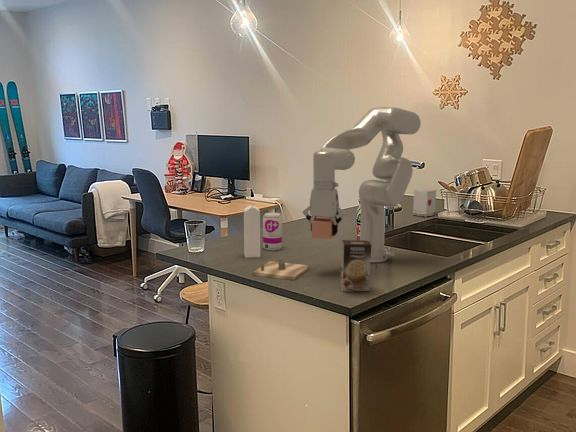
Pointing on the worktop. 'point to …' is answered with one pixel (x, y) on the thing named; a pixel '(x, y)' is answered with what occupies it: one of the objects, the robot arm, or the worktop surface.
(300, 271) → the post base
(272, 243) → the supplement can
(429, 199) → the supplement box
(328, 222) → the square nut with handle
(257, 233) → the milk
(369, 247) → the coffee box
